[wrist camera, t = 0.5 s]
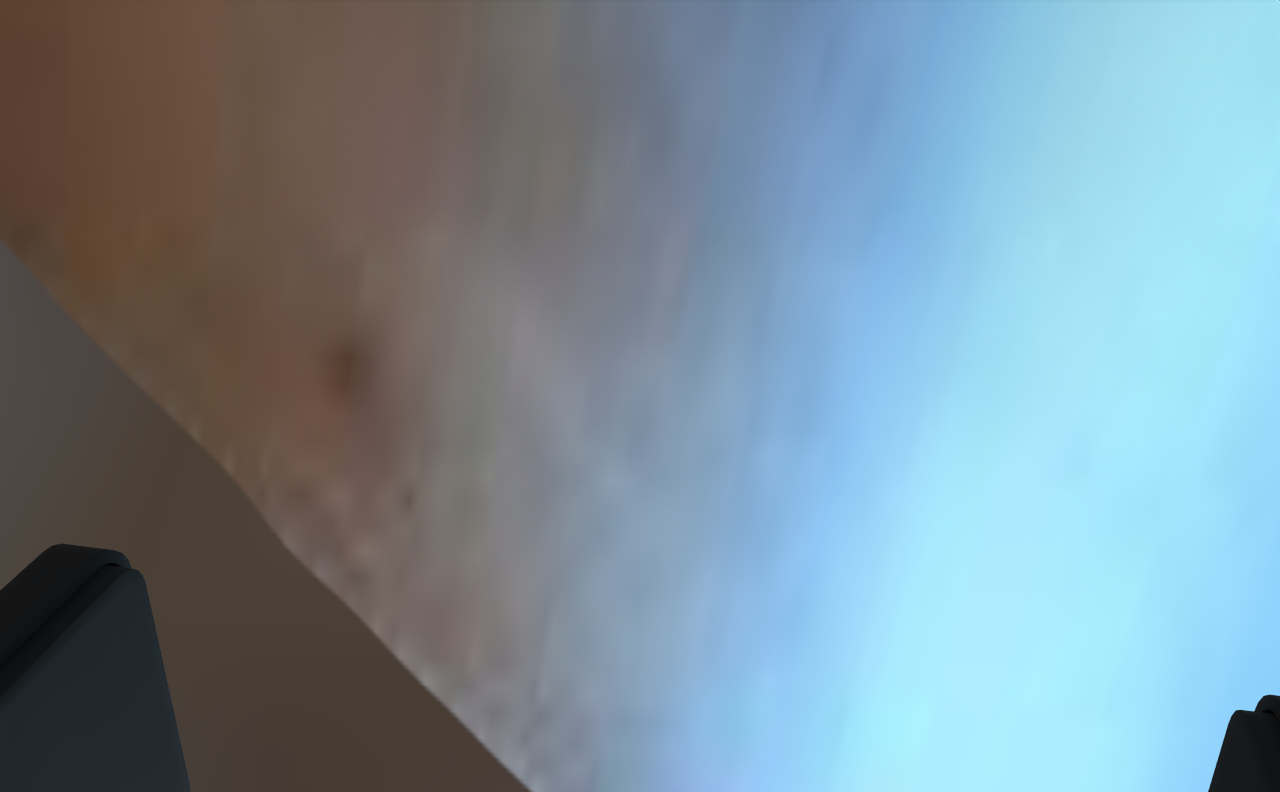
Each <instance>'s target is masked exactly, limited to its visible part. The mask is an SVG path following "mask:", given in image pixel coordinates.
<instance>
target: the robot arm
mask: <svg viewBox="0 0 1280 792" xmlns="http://www.w3.org/2000/svg"><path fill="white" fill-rule="evenodd" d="M0 792H190V784H189V779H188V774H187V770H186V765H185V761H184V756H183V751H182V747H181V743H180V738H179V733H178V729H177V724H176V719H175V715H174V710H173V706H172V701H171V697H170V692H169V688H168V683H167V678H166V674H165V670H164V665H163V660H162V656H161V651H160V647H159V642H158V638H157V633H156V628H155V624H154V620H153V615H152V610H151V606H150V601H149V596H148V592H147V588H146V583H145V580H144V578H143V576H142V574H141V573H140V572H139V571H138V570H134V569H131V566H130V563H129V561H128V559H127V558H126V557H125V556H124V555H123V553H121V552H118V551H115V550H108V549H99V548H92V547H83V546H76V545H68V544H58V545H53V546H51V547H50V548H48V549H47V550H45V551H44V552H42V554H40V555H39V556H38V557H37V558H36V559H35V560H34V561H33V562H31V563H30V564H29V565H28V566H27V567H26V568H25V569H24V570H23V571H21V572H20V573H19V574H18V575H17V576H16V577H15V578H14V579H13V580H12V581H10V582H9V583H8V584H7V585H6V586H5V587H4V588H3V589H2V590H0ZM1208 792H1280V696H1276V695H1266V696H1263V697H1262V699H1261V700H1260V701H1259V702H1258V704H1257V706H1256V709H1255V711H1254V712H1252V711H1245V710H1237V711H1235V712H1234V714H1233V715H1232V716H1231V719H1230V721H1229V724H1228V727H1227V731H1226V734H1225V737H1224V741H1223V744H1222V747H1221V751H1220V754H1219V757H1218V761H1217V764H1216V768H1215V771H1214V774H1213V778H1212V781H1211V784H1210V788H1209V791H1208Z"/></svg>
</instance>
